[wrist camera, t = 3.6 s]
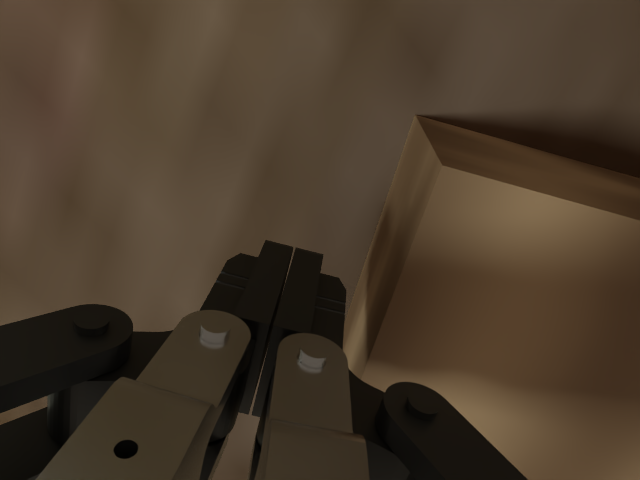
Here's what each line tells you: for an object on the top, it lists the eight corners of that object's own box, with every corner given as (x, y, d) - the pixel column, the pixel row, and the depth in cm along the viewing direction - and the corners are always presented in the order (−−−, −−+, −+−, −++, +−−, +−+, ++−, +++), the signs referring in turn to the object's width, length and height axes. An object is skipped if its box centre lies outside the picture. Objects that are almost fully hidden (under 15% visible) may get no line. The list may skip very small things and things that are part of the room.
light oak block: (794, 220, 15) (1009, 323, 10) (653, 413, 18) (762, 562, 13) (414, 113, 15) (442, 165, 10) (340, 331, 18) (332, 454, 13)
